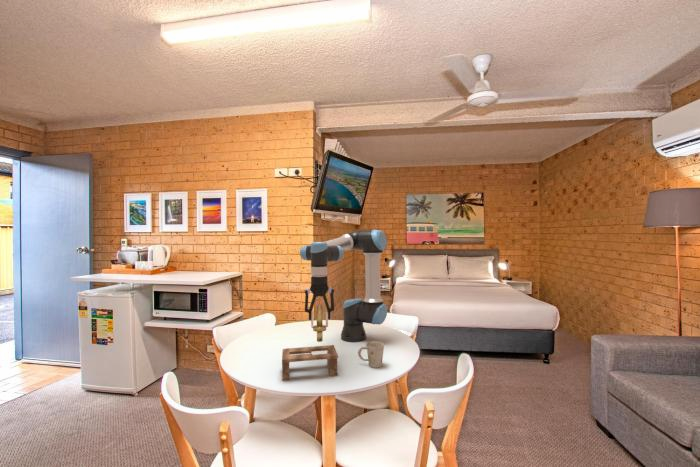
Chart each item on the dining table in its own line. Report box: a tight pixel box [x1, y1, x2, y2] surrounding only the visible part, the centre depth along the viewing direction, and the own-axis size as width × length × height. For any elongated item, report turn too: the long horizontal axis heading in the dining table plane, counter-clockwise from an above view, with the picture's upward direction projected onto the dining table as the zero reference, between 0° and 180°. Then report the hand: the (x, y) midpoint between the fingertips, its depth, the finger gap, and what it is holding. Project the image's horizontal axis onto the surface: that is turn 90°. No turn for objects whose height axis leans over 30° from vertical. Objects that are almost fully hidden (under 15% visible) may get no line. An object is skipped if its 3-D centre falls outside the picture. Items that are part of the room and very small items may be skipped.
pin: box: [312, 304, 327, 343], centre depth 147 cm, size 6×6×16 cm
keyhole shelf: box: [281, 344, 339, 381], centre depth 146 cm, size 24×14×9 cm, turn 101°
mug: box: [357, 340, 385, 369], centre depth 154 cm, size 8×13×10 cm, turn 78°
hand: (319, 326), depth 147 cm, fingers closed on pin, 6 cm apart
